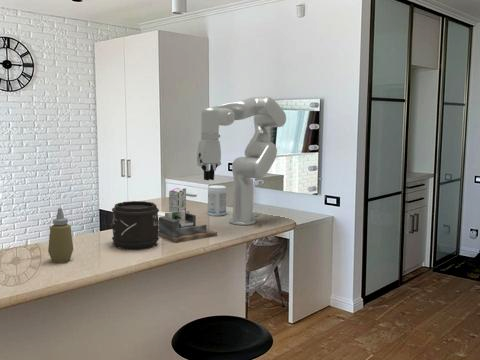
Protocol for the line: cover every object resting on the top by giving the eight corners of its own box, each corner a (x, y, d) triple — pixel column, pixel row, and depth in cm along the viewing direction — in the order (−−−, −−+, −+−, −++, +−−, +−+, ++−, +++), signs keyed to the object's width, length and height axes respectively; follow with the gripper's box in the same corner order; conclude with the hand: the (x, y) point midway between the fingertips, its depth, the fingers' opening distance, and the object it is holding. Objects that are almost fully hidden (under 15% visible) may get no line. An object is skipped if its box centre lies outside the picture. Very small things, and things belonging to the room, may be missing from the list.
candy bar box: (176, 221, 226) (176, 187, 224) (186, 222, 225) (186, 188, 223) (168, 226, 216) (168, 190, 213) (178, 227, 215) (179, 191, 212)
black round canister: (107, 240, 188) (107, 201, 186) (152, 237, 195) (152, 199, 193) (113, 252, 172) (113, 209, 170) (162, 248, 179) (162, 207, 177)
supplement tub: (224, 212, 251) (224, 185, 249) (227, 216, 242) (228, 187, 240) (206, 212, 249) (206, 185, 247) (208, 216, 239) (209, 187, 238)
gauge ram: (183, 227, 206) (183, 211, 205) (195, 231, 199) (195, 215, 198) (169, 229, 201) (169, 213, 201) (180, 233, 195) (181, 217, 194)
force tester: (195, 228, 213) (195, 208, 212) (217, 235, 201) (217, 214, 199) (154, 234, 199) (154, 213, 198) (174, 242, 187) (175, 220, 186)
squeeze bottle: (52, 256, 164) (51, 206, 162) (76, 256, 165) (75, 206, 163) (45, 263, 156) (43, 210, 154) (70, 264, 157) (69, 210, 155)
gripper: (219, 136, 210) (218, 177, 212) (189, 136, 200) (188, 180, 202) (229, 137, 204) (228, 179, 207) (199, 137, 194) (198, 182, 196)
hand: (208, 179), depth 204 cm, fingers closed
